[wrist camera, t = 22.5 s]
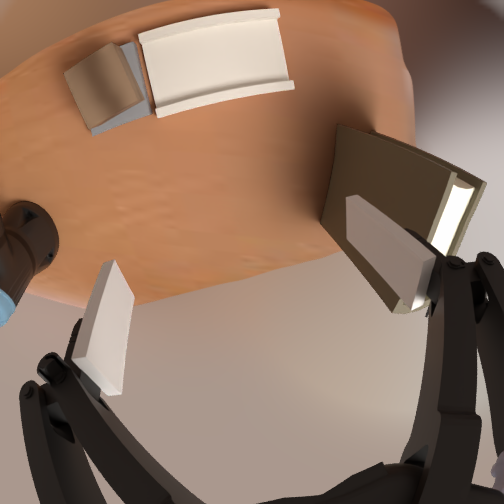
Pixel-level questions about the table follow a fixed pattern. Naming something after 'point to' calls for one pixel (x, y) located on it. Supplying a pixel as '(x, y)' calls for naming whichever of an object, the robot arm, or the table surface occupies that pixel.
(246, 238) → the table surface
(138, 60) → the plinth
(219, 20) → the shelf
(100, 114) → the block
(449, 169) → the book
